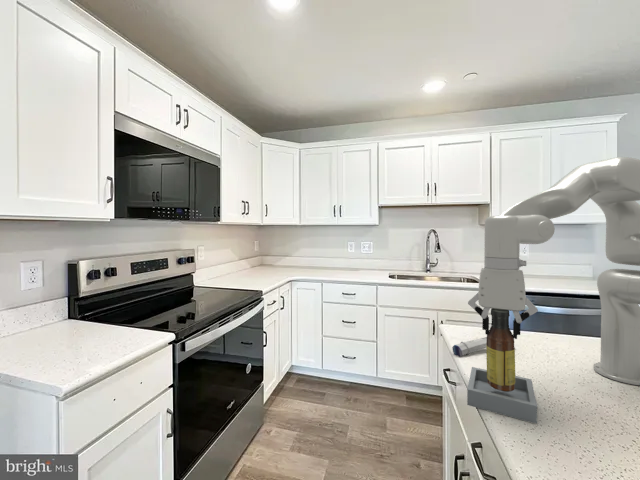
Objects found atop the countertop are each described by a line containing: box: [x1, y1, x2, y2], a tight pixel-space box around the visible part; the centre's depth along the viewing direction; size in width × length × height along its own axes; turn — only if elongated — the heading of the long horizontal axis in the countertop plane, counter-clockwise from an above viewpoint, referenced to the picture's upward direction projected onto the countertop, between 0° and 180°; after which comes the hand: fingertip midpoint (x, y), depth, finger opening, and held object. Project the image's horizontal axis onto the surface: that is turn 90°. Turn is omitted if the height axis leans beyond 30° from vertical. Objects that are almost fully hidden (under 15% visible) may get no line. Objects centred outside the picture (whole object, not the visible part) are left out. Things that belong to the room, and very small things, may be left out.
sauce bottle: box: [485, 308, 516, 392], centre depth 74 cm, size 7×6×20 cm
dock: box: [466, 366, 538, 425], centre depth 75 cm, size 14×14×4 cm
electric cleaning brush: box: [452, 336, 487, 357], centre depth 105 cm, size 5×7×25 cm
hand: (500, 334), depth 74 cm, fingers closed on sauce bottle, 5 cm apart
